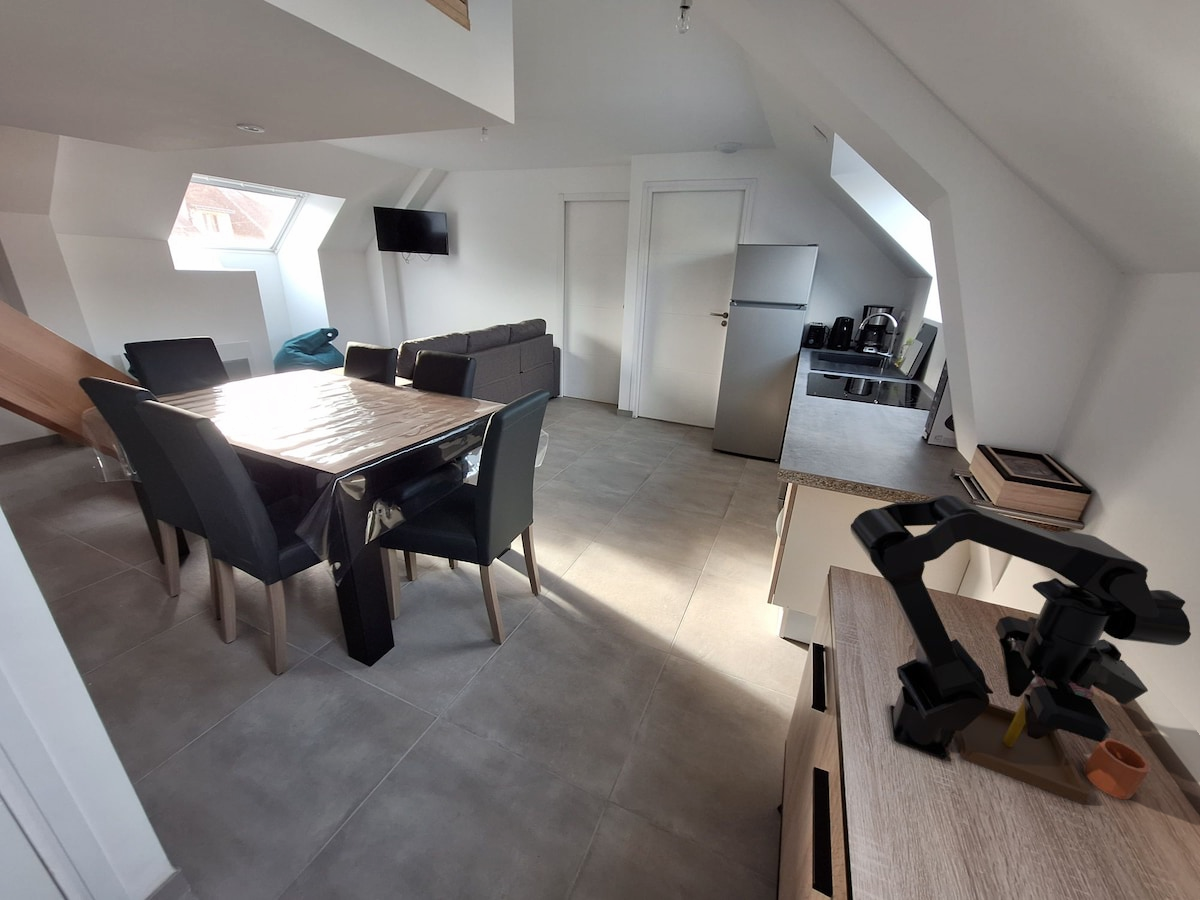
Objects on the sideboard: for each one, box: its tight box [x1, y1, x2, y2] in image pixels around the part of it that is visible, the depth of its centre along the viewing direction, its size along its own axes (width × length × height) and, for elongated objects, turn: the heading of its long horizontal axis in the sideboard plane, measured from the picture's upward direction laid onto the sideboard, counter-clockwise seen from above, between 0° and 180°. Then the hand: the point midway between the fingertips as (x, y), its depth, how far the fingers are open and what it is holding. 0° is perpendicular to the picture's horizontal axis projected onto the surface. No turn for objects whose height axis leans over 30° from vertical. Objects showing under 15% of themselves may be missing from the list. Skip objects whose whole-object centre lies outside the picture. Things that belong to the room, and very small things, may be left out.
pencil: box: [1003, 698, 1026, 747], centre depth 65 cm, size 1×1×9 cm
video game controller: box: [1028, 676, 1095, 699], centre depth 76 cm, size 10×5×7 cm, turn 65°
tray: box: [954, 702, 1090, 805], centre depth 67 cm, size 13×11×2 cm
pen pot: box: [1083, 737, 1152, 800], centre depth 62 cm, size 5×5×6 cm
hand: (1022, 715), depth 65 cm, fingers open, 7 cm apart
